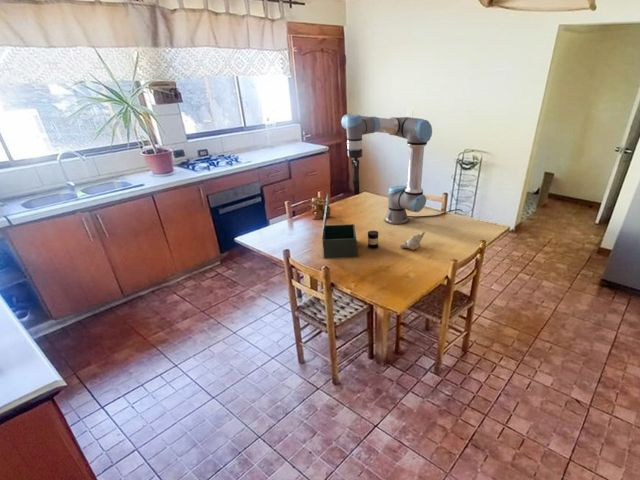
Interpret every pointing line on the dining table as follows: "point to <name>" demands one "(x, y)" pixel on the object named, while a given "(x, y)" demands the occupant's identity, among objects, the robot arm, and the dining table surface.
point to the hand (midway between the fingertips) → (356, 190)
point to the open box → (340, 241)
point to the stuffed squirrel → (320, 210)
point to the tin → (372, 239)
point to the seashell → (413, 242)
